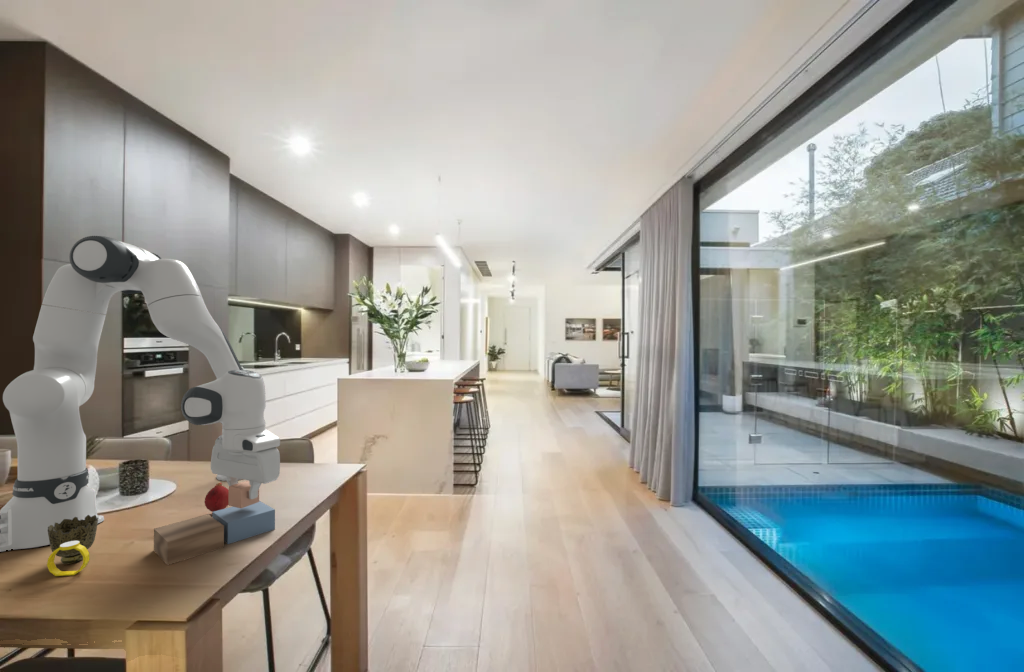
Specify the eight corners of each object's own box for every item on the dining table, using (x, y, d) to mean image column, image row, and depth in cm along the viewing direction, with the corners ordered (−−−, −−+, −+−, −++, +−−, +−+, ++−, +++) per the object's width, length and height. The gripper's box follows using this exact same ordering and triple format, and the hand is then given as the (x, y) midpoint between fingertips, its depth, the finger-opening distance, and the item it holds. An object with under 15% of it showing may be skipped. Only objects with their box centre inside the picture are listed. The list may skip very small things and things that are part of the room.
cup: (38, 573, 86) (38, 532, 86) (58, 556, 92) (59, 518, 93) (88, 565, 89) (88, 525, 89) (104, 549, 95) (104, 512, 96)
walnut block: (153, 551, 95) (153, 528, 95) (207, 535, 103) (207, 514, 103) (167, 566, 89) (167, 541, 89) (223, 548, 97) (223, 525, 97)
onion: (217, 518, 112) (218, 487, 112) (198, 516, 113) (199, 485, 113) (236, 510, 118) (236, 479, 118) (218, 508, 119) (218, 478, 119)
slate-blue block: (212, 533, 104) (212, 511, 104) (257, 519, 112) (257, 499, 112) (227, 545, 98) (227, 522, 98) (274, 530, 106) (274, 509, 106)
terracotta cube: (228, 505, 104) (228, 486, 104) (246, 499, 108) (246, 480, 108) (241, 508, 102) (241, 489, 102) (259, 501, 106) (259, 483, 106)
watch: (43, 580, 83) (43, 548, 83) (54, 573, 86) (54, 542, 86) (82, 576, 85) (82, 544, 85) (92, 568, 88) (92, 538, 88)
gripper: (203, 436, 107) (202, 494, 107) (260, 445, 98) (260, 507, 98) (229, 431, 112) (228, 486, 112) (285, 439, 104) (284, 498, 104)
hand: (243, 496), depth 105 cm, fingers open, 5 cm apart
